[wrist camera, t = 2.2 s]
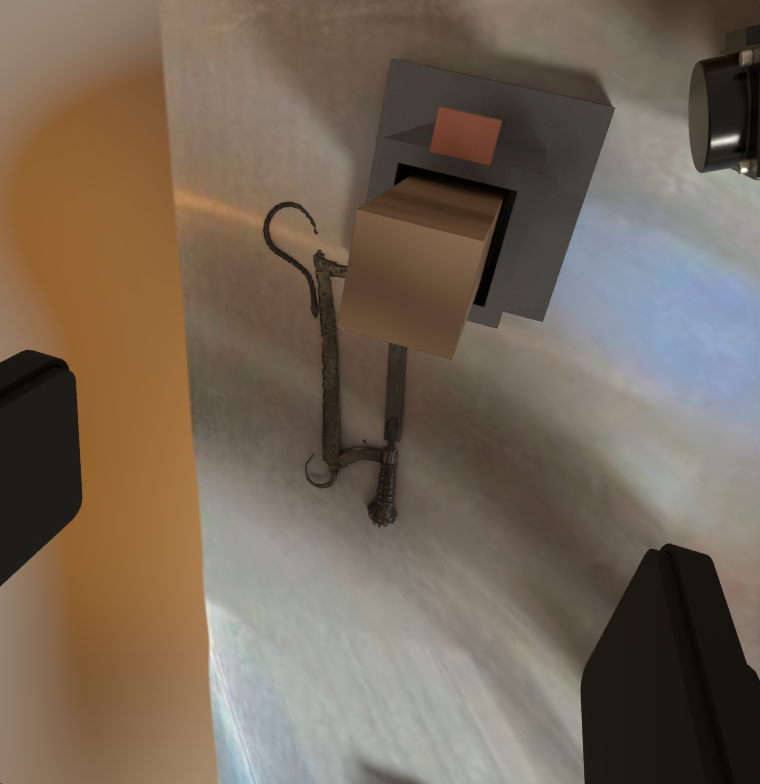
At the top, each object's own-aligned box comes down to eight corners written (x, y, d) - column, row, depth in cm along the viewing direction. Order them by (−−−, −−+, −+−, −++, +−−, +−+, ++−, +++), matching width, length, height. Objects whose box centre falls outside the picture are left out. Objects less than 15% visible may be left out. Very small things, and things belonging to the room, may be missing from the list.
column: (496, 244, 36) (453, 363, 21) (426, 227, 36) (333, 329, 21) (517, 169, 34) (487, 239, 19) (442, 152, 34) (354, 205, 19)
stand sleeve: (543, 313, 39) (538, 405, 28) (360, 265, 41) (287, 334, 29) (612, 106, 33) (642, 118, 22) (397, 59, 35) (323, 47, 24)
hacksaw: (397, 523, 49) (393, 535, 48) (275, 499, 51) (268, 510, 50) (420, 212, 39) (415, 217, 37) (264, 198, 41) (254, 201, 39)
